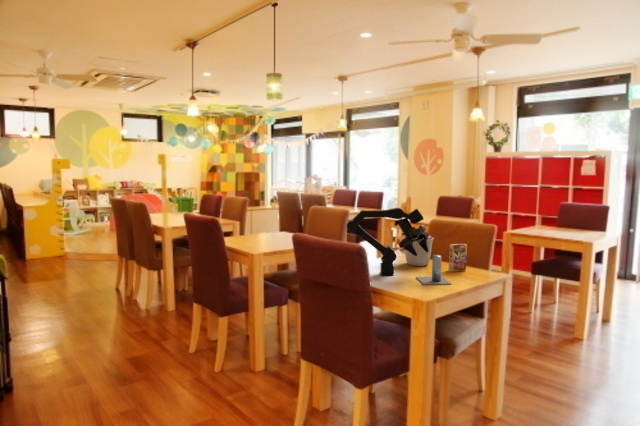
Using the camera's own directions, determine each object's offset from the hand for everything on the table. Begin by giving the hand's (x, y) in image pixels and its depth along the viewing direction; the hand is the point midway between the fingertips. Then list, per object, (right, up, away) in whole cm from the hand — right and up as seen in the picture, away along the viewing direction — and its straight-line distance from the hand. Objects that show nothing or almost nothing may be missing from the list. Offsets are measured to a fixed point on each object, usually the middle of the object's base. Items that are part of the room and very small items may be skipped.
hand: (422, 253), depth 231 cm
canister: (+5, -10, +36) cm, 38 cm away
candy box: (+24, -12, +20) cm, 33 cm away
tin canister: (+6, -13, -6) cm, 16 cm away
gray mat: (+5, -14, -4) cm, 15 cm away
